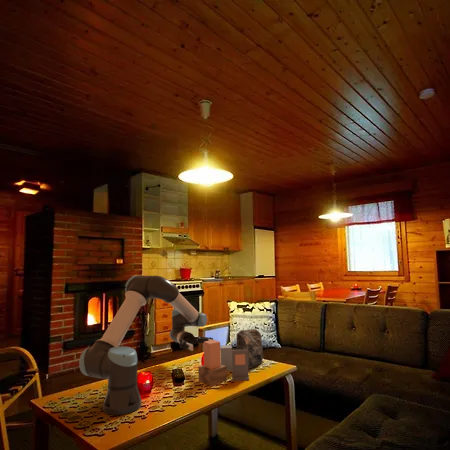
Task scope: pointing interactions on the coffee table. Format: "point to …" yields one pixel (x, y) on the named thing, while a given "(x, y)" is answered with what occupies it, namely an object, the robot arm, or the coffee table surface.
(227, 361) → the slate-grey block
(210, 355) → the terracotta block
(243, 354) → the charcoal sign
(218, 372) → the walnut block
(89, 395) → the coffee table surface
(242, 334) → the stone block
